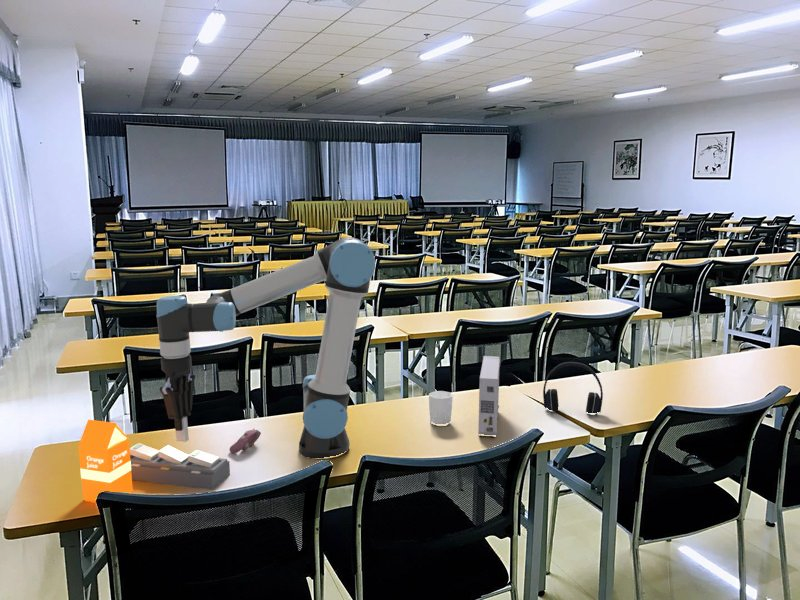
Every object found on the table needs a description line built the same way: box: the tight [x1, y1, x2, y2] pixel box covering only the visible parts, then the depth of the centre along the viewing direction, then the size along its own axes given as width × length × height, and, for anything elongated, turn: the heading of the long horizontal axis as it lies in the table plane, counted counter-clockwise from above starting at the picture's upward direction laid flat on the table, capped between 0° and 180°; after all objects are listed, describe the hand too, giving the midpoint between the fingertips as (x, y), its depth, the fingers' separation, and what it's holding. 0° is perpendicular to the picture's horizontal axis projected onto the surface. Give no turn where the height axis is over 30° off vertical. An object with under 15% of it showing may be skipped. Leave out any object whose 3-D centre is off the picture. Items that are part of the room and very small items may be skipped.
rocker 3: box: [188, 449, 221, 468], centre depth 168 cm, size 7×4×2 cm, turn 76°
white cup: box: [428, 390, 454, 424], centre depth 210 cm, size 8×8×10 cm
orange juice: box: [77, 419, 134, 503], centre depth 159 cm, size 8×9×20 cm
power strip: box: [130, 455, 231, 490], centre depth 171 cm, size 28×9×5 cm, turn 76°
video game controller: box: [229, 428, 262, 454], centre depth 190 cm, size 10×5×7 cm, turn 161°
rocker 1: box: [129, 442, 159, 461], centre depth 173 cm, size 7×4×2 cm, turn 76°
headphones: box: [542, 361, 604, 414], centre depth 220 cm, size 20×7×18 cm, turn 74°
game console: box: [477, 355, 501, 436], centre depth 209 cm, size 6×27×20 cm, turn 170°
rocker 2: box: [158, 444, 189, 464], centre depth 170 cm, size 7×4×2 cm, turn 76°
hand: (182, 440), depth 169 cm, fingers closed
